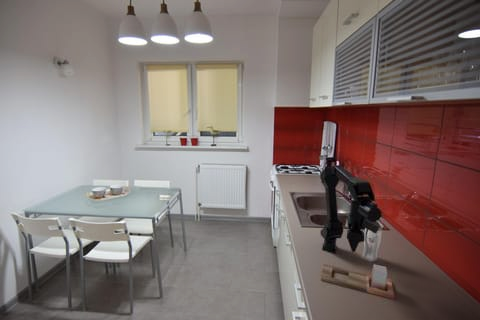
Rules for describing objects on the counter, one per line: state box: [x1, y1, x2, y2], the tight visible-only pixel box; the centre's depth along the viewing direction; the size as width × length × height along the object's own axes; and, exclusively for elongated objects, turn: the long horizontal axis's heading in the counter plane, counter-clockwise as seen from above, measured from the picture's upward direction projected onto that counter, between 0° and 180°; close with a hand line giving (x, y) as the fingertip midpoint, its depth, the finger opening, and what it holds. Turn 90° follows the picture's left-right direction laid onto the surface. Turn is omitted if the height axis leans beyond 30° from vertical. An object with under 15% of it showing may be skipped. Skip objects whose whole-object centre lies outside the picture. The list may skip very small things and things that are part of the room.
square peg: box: [370, 263, 388, 291], centre depth 104 cm, size 4×4×8 cm
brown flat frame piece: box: [320, 263, 395, 300], centre depth 108 cm, size 10×26×1 cm, turn 67°
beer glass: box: [362, 227, 382, 263], centre depth 123 cm, size 7×7×15 cm
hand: (353, 246), depth 111 cm, fingers open, 9 cm apart
